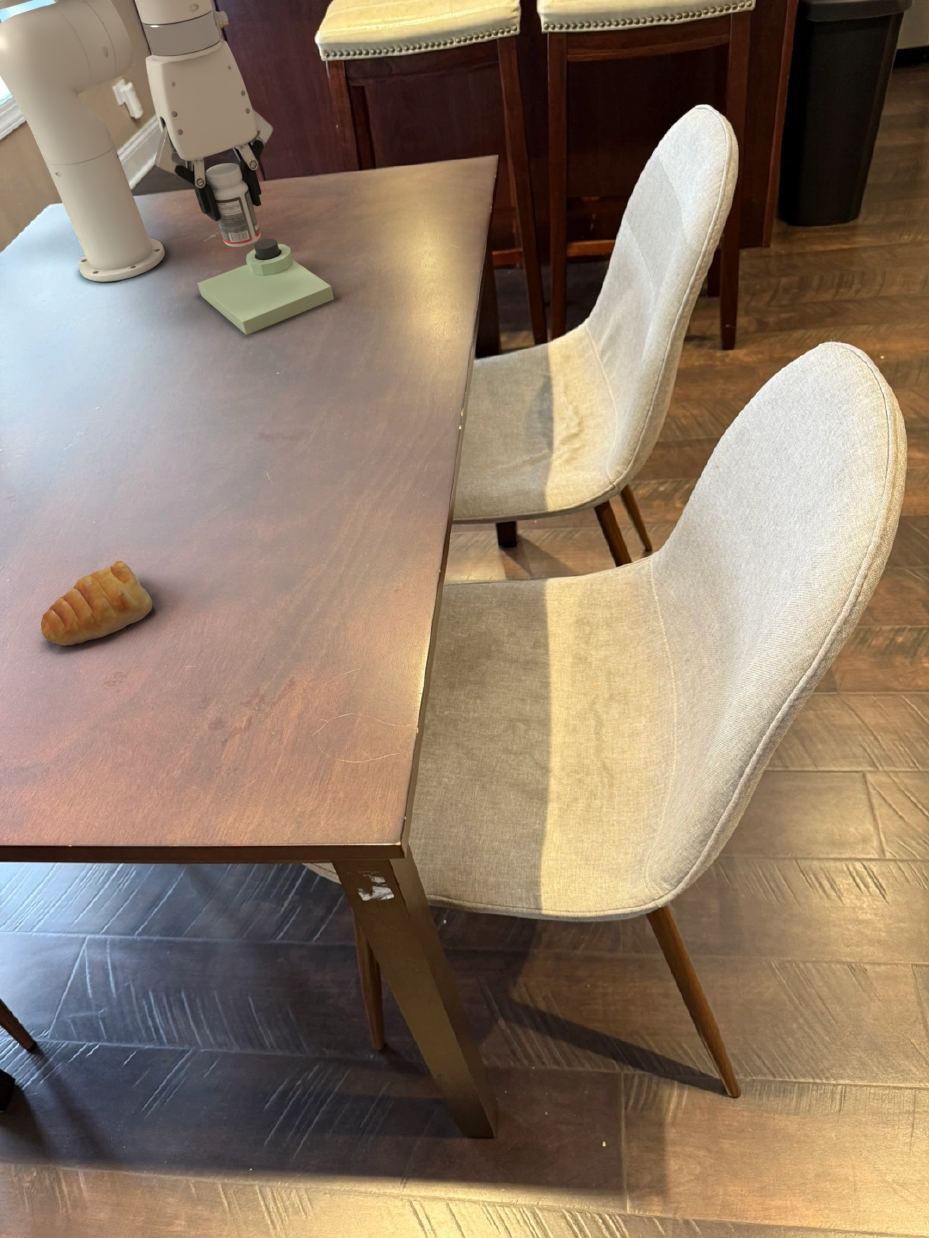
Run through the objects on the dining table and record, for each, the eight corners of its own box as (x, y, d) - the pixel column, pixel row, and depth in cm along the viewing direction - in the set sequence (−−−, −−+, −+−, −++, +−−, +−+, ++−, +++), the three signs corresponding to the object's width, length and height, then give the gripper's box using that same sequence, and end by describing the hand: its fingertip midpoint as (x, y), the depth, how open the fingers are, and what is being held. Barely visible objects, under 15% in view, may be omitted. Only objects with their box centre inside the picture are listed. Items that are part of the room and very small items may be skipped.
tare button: (253, 256, 119) (250, 244, 118) (274, 249, 120) (270, 236, 119) (263, 264, 117) (260, 251, 116) (284, 256, 119) (281, 243, 117)
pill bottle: (243, 229, 110) (223, 159, 104) (269, 235, 108) (250, 164, 102) (216, 244, 108) (194, 173, 102) (242, 250, 106) (221, 179, 100)
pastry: (63, 666, 74) (42, 636, 71) (37, 625, 78) (16, 595, 75) (162, 610, 78) (146, 580, 75) (132, 573, 81) (116, 543, 79)
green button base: (201, 296, 120) (192, 271, 117) (284, 264, 124) (278, 240, 122) (246, 335, 111) (238, 310, 108) (334, 299, 115) (329, 274, 113)
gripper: (240, 11, 97) (282, 181, 110) (96, 51, 92) (158, 224, 105) (269, 21, 93) (309, 196, 106) (119, 63, 87) (181, 243, 100)
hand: (233, 208), depth 105 cm, fingers closed on pill bottle, 4 cm apart
